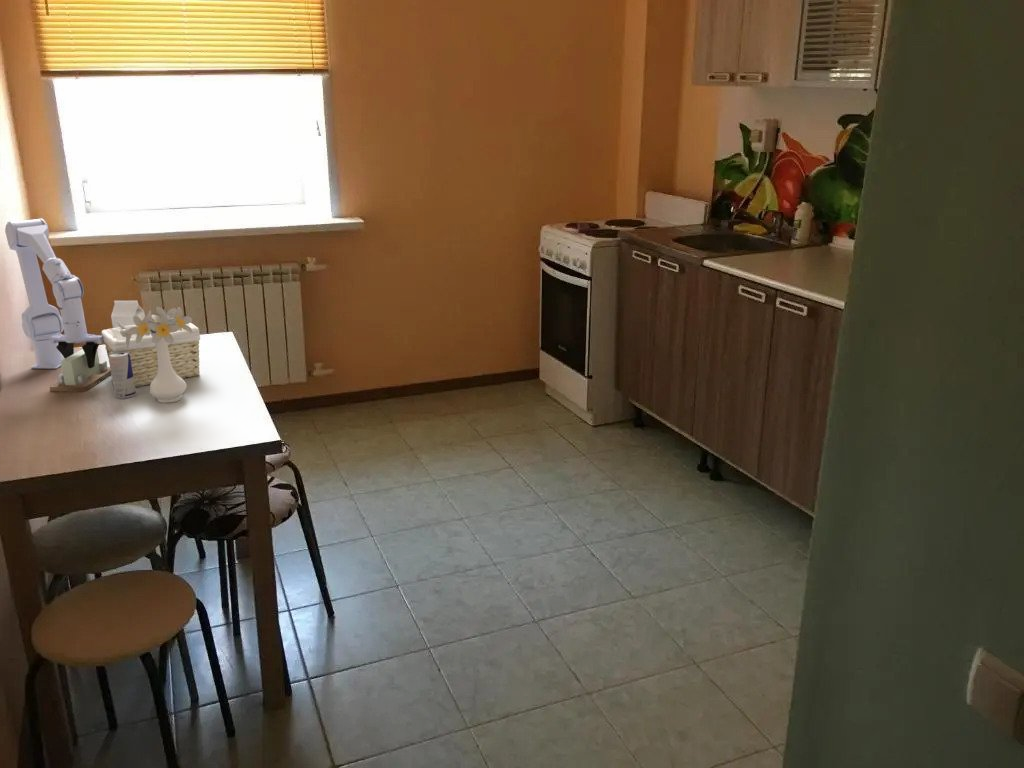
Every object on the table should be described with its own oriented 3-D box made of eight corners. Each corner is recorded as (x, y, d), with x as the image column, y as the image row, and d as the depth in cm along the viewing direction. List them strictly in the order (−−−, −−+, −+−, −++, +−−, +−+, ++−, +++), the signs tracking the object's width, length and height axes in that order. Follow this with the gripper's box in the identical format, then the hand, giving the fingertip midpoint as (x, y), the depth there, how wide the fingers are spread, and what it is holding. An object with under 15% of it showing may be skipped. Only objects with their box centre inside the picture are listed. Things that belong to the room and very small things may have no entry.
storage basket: (190, 362, 263) (184, 316, 258) (207, 376, 251) (201, 327, 246) (107, 378, 250) (98, 329, 245) (120, 393, 238) (112, 342, 233)
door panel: (90, 369, 254) (86, 346, 251) (100, 369, 253) (96, 346, 251) (65, 385, 240) (60, 361, 238) (75, 385, 240) (71, 361, 238)
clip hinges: (84, 368, 254) (83, 360, 253) (107, 369, 254) (106, 361, 253) (58, 384, 241) (57, 376, 240) (82, 385, 240) (81, 376, 240)
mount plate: (83, 370, 256) (83, 366, 256) (116, 370, 256) (115, 367, 255) (50, 391, 239) (49, 387, 239) (85, 391, 239) (84, 387, 238)
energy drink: (140, 392, 238) (133, 351, 234) (130, 399, 233) (123, 357, 229) (121, 392, 238) (114, 350, 234) (111, 398, 233) (104, 356, 229)
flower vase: (125, 400, 232) (111, 310, 224) (195, 386, 242) (183, 300, 234) (136, 414, 222) (121, 321, 214) (209, 400, 232) (197, 310, 223)
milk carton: (142, 364, 262) (132, 303, 255) (118, 364, 262) (108, 303, 256) (151, 357, 268) (142, 297, 262) (128, 357, 269) (119, 298, 262)
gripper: (40, 324, 238) (49, 371, 243) (91, 325, 238) (99, 371, 242) (54, 318, 245) (63, 363, 249) (104, 318, 244) (111, 364, 249)
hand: (82, 367), depth 246 cm, fingers open, 5 cm apart
